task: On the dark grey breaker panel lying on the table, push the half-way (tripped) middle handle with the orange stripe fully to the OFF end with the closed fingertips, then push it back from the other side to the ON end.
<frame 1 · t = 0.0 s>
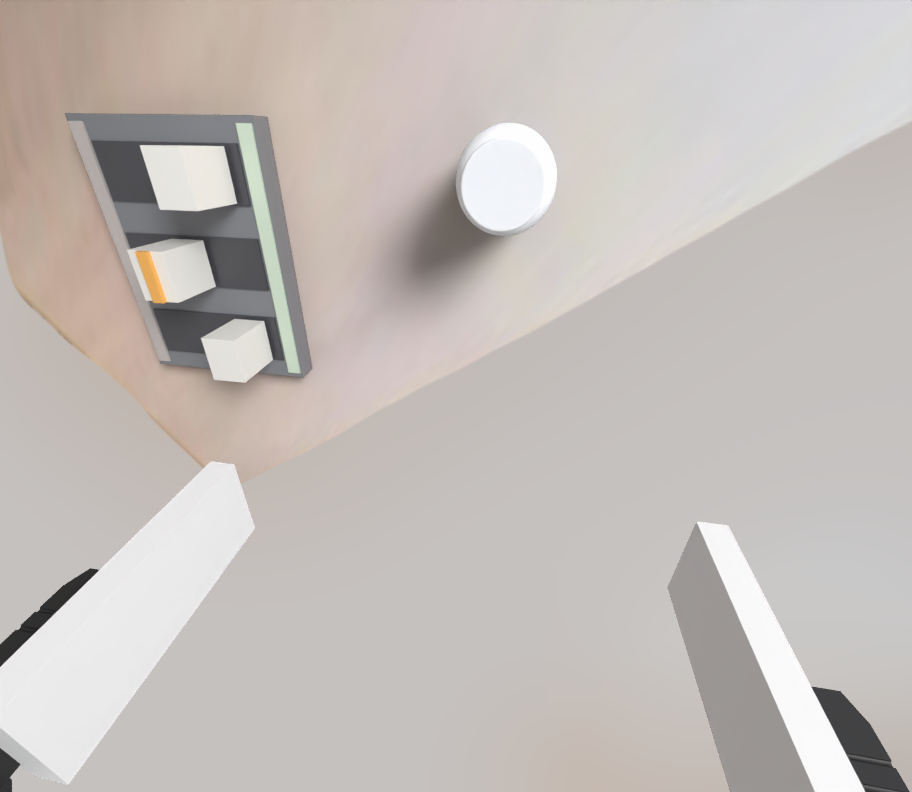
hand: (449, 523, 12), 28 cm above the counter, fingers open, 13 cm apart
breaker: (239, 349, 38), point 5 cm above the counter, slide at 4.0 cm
pill bottle: (510, 175, 32), on the counter
breaker mid: (173, 270, 35), point 5 cm above the counter, slide at 0.0 cm
panel: (213, 256, 39), on the counter
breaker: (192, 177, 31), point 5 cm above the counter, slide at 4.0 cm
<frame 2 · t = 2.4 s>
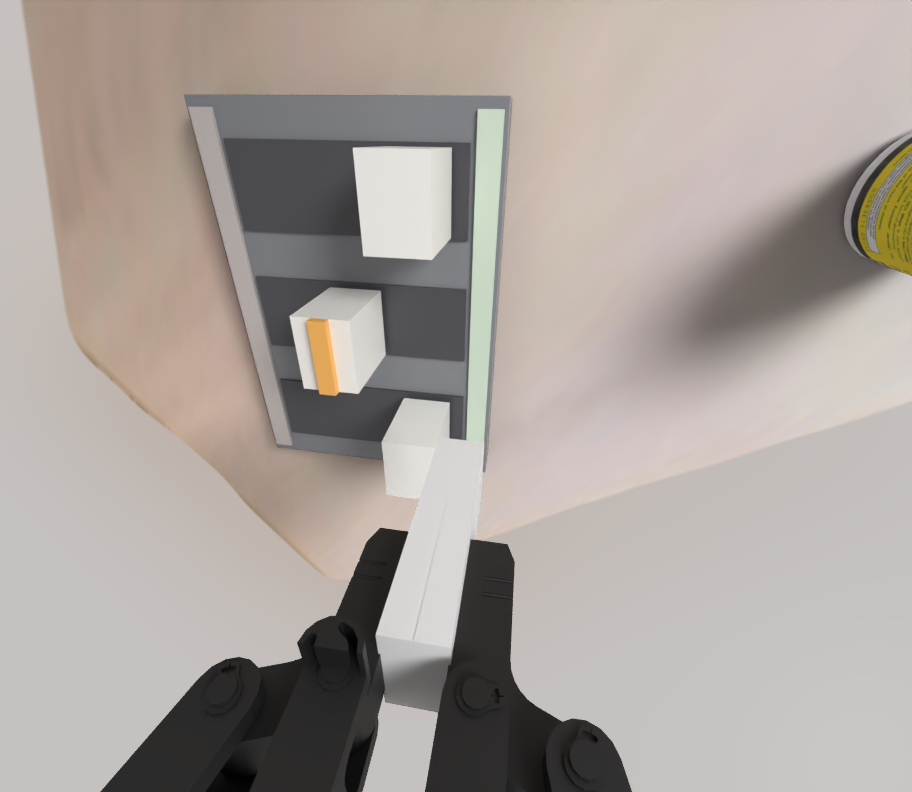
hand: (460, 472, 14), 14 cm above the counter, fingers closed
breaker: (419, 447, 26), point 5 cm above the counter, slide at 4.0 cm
breaker mid: (342, 339, 23), point 5 cm above the counter, slide at 0.0 cm
panel: (373, 307, 27), on the counter
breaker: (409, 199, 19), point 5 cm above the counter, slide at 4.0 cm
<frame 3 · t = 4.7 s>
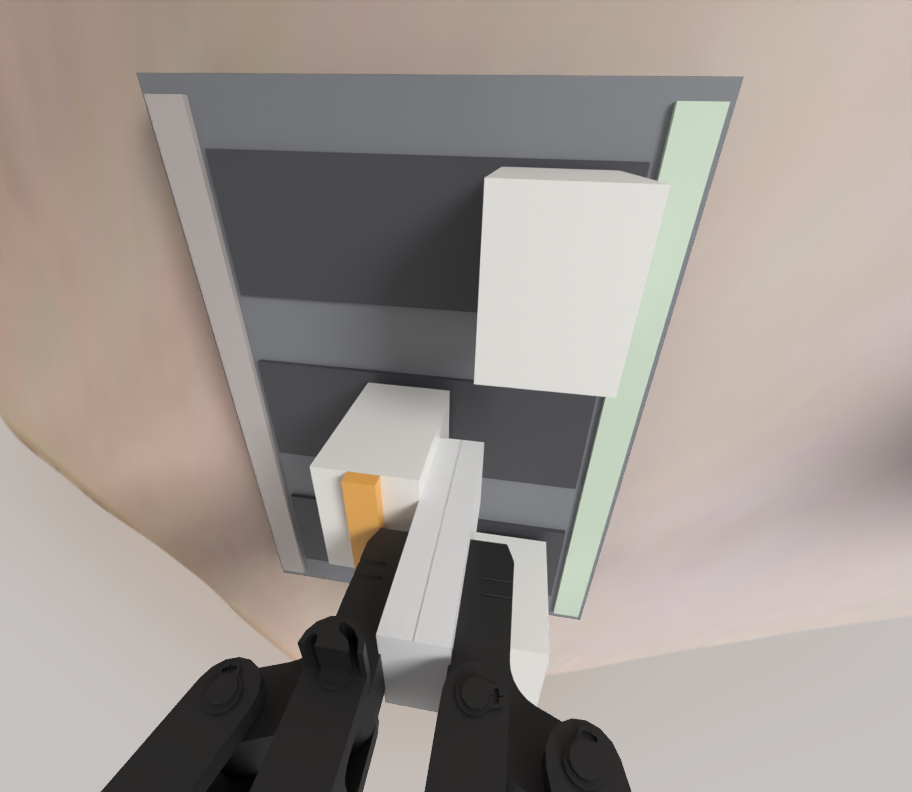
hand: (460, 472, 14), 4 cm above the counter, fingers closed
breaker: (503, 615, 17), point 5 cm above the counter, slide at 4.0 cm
breaker mid: (391, 476, 14), point 5 cm above the counter, slide at -0.3 cm, touching gripper
panel: (431, 398, 18), on the counter
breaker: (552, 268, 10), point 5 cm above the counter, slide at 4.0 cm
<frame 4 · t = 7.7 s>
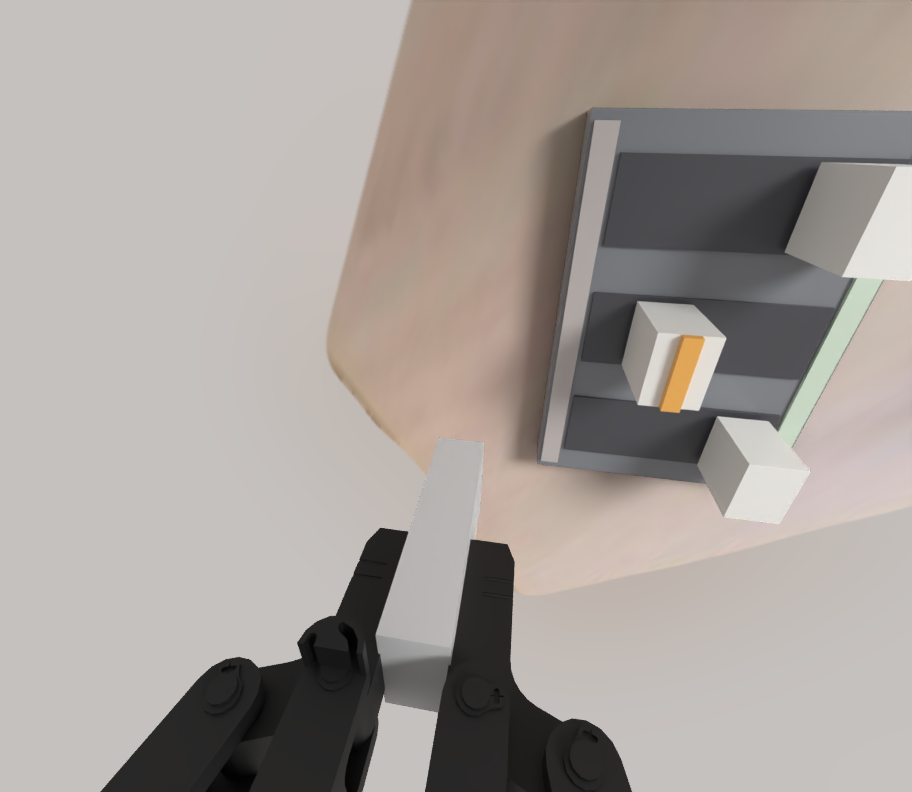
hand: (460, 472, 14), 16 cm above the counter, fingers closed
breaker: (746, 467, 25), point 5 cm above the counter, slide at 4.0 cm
breaker mid: (667, 354, 22), point 5 cm above the counter, slide at -2.5 cm
panel: (686, 323, 26), on the counter
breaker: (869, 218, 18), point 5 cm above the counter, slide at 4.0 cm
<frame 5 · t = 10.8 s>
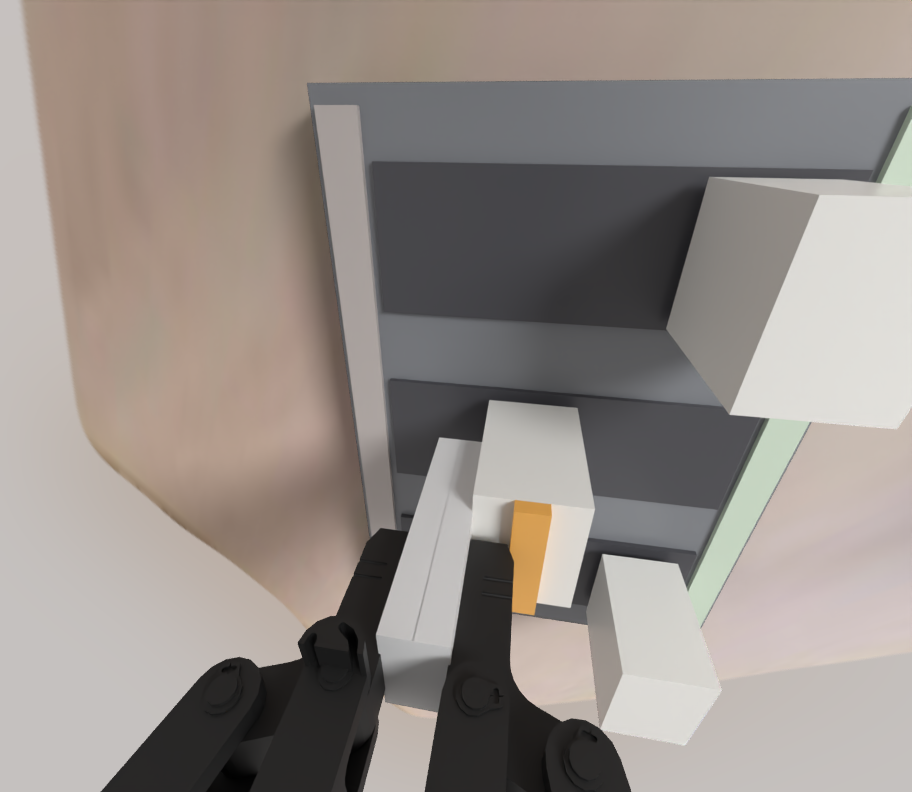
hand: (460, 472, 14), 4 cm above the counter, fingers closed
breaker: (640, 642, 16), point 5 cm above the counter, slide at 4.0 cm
breaker mid: (526, 499, 13), point 5 cm above the counter, slide at -1.1 cm, touching gripper
panel: (554, 414, 18), on the counter
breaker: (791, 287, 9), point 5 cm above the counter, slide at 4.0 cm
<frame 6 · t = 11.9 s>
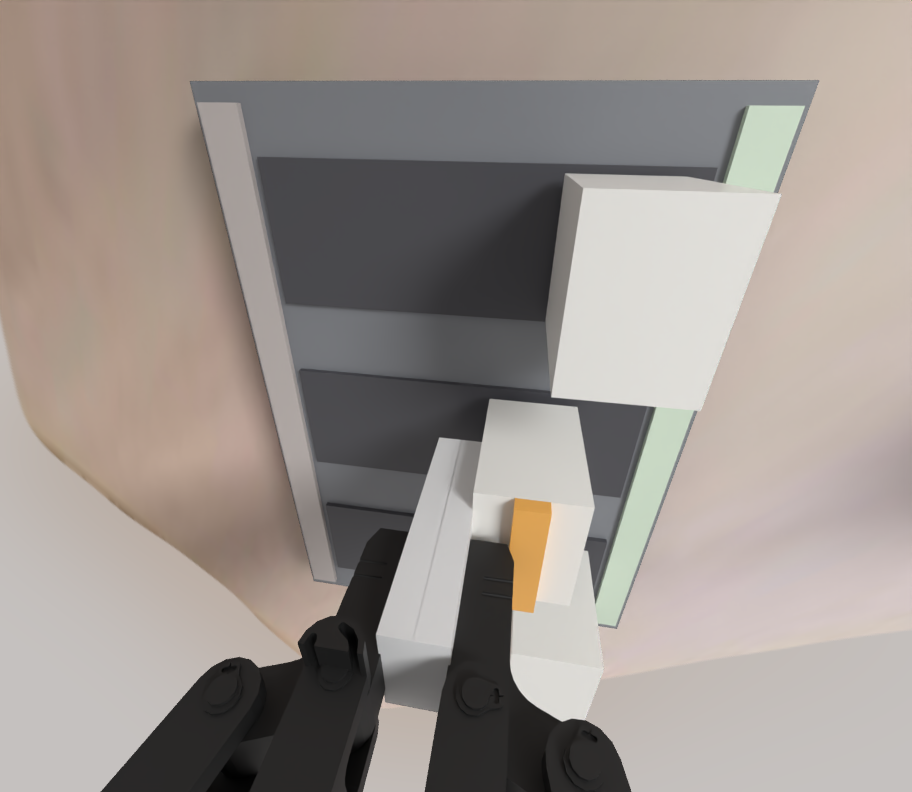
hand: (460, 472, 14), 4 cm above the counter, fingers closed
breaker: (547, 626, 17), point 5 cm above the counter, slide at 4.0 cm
breaker mid: (526, 497, 13), point 5 cm above the counter, slide at 2.4 cm, touching gripper
panel: (470, 405, 18), on the counter
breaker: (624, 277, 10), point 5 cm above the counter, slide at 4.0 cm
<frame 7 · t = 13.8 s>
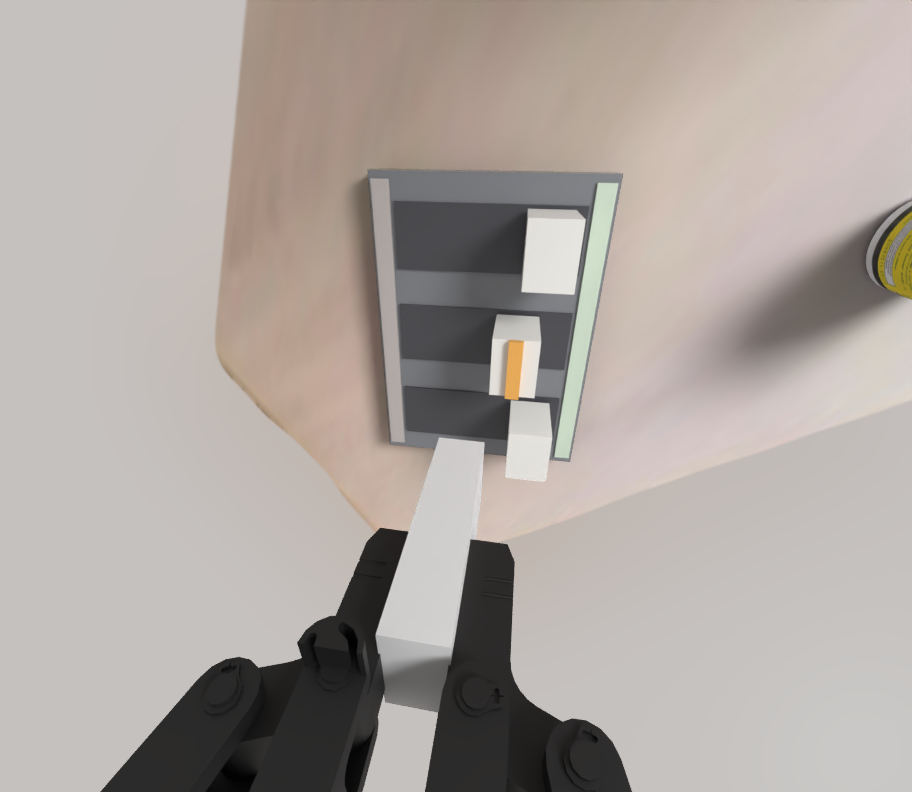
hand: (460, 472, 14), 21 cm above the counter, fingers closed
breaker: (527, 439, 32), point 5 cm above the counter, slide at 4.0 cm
breaker mid: (514, 355, 29), point 5 cm above the counter, slide at 2.5 cm
panel: (485, 327, 33), on the counter
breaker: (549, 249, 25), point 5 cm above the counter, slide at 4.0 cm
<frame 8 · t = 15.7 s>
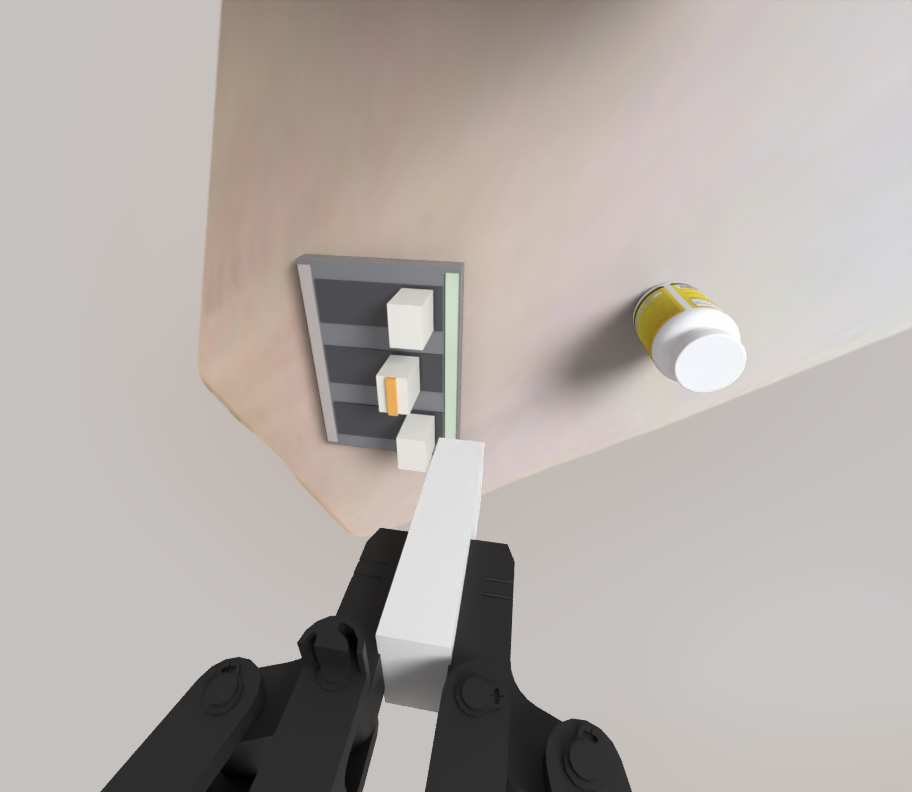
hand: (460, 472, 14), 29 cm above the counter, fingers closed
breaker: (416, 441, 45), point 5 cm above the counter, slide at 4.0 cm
pill bottle: (666, 312, 39), on the counter
breaker mid: (398, 384, 42), point 5 cm above the counter, slide at 2.5 cm
panel: (389, 360, 46), on the counter
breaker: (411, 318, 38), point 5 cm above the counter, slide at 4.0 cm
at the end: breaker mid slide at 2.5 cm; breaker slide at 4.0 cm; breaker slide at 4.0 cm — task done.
